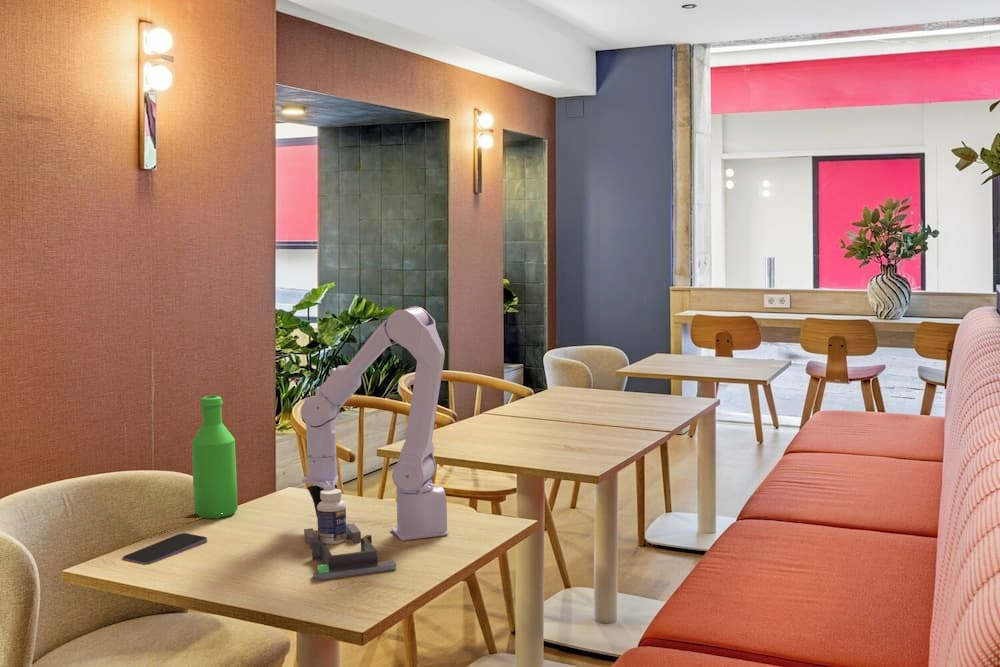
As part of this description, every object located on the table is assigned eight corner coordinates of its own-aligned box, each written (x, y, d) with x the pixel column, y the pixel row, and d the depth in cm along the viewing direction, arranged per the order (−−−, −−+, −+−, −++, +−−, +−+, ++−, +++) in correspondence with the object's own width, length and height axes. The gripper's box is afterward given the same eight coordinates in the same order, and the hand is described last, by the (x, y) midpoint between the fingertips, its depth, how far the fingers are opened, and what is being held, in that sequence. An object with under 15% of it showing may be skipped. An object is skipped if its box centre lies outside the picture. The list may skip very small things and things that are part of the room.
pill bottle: (340, 546, 184) (339, 495, 183) (313, 544, 185) (312, 494, 184) (350, 537, 189) (349, 488, 188) (324, 535, 190) (323, 487, 189)
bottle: (197, 522, 201) (191, 401, 198) (192, 511, 209) (186, 395, 206) (241, 516, 204) (236, 398, 202) (234, 506, 212) (229, 392, 210)
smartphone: (119, 557, 178) (182, 532, 191) (120, 563, 178) (182, 537, 191) (147, 563, 175) (209, 537, 188) (148, 569, 175) (210, 543, 188)
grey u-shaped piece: (354, 533, 192) (353, 523, 192) (361, 542, 186) (360, 531, 186) (304, 539, 188) (304, 529, 188) (309, 548, 183) (309, 538, 183)
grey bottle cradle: (379, 549, 182) (378, 533, 182) (396, 569, 171) (395, 553, 170) (303, 559, 177) (302, 542, 177) (315, 580, 166) (315, 563, 165)
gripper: (295, 449, 199) (297, 514, 200) (307, 464, 185) (310, 534, 187) (329, 446, 201) (332, 510, 203) (344, 461, 188) (346, 530, 189)
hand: (324, 521), depth 195 cm, fingers closed
